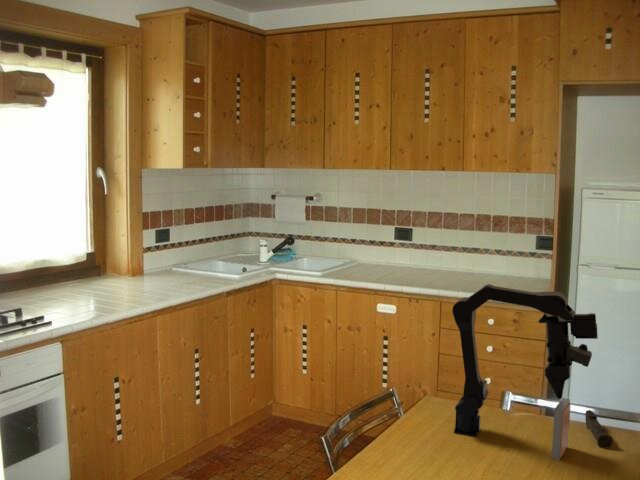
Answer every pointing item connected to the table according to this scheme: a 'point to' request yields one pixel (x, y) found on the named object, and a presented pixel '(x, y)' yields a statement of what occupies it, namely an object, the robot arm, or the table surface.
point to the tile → (561, 428)
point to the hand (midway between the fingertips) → (560, 393)
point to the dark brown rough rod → (597, 430)
